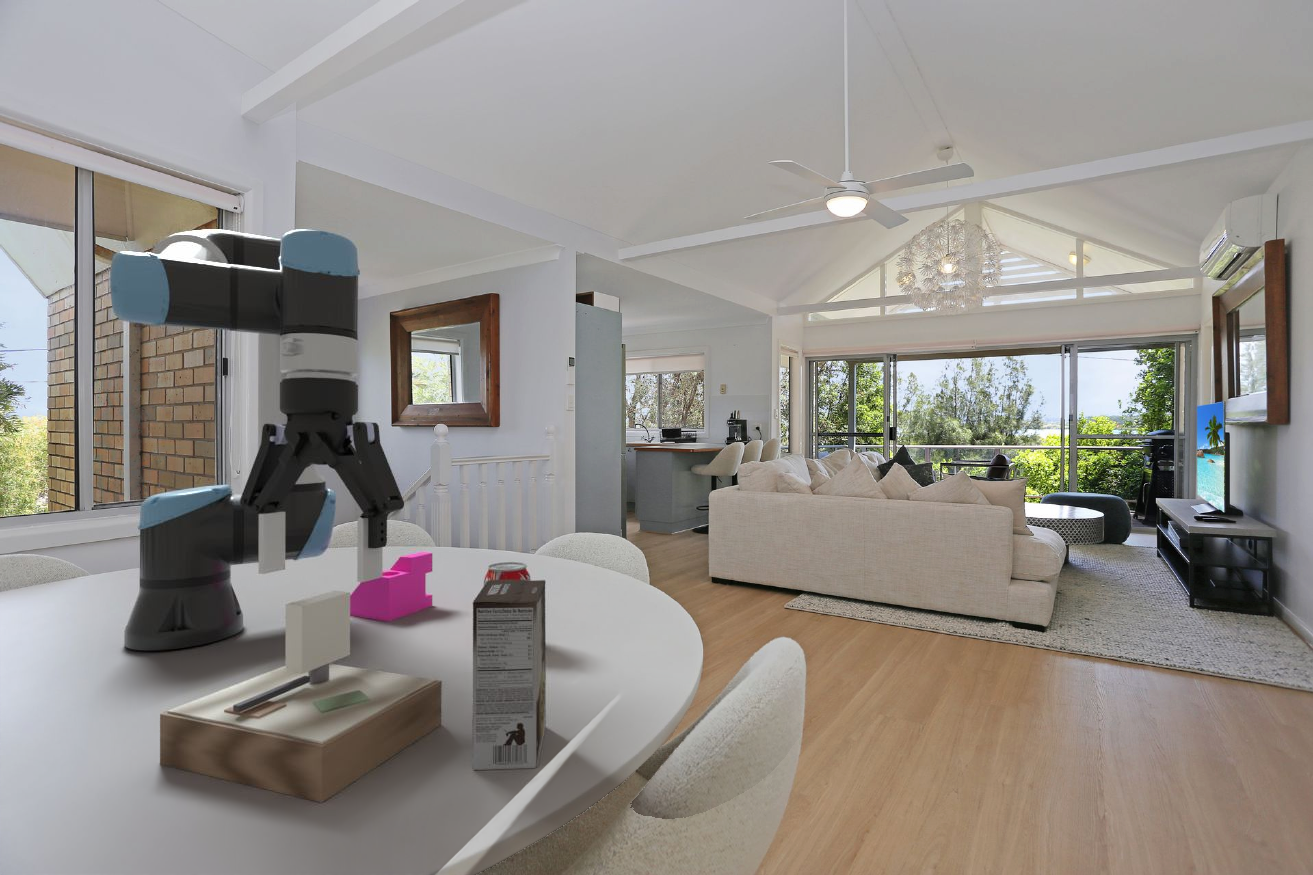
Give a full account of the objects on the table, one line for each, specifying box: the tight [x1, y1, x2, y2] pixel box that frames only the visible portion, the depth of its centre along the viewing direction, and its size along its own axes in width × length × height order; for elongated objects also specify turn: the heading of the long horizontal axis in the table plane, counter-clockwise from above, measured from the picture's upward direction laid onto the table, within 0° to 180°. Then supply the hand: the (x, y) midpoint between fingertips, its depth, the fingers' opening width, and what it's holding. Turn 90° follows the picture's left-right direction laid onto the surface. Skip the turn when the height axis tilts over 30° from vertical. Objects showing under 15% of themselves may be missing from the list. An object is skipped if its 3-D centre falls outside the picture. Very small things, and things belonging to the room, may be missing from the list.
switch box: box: [159, 663, 443, 804], centre depth 66 cm, size 20×16×5 cm
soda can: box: [482, 561, 532, 588], centre depth 98 cm, size 7×7×12 cm
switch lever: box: [233, 590, 351, 712], centre depth 66 cm, size 2×13×9 cm, turn 161°
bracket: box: [350, 551, 433, 622], centre depth 116 cm, size 12×10×10 cm
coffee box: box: [472, 579, 547, 771], centre depth 65 cm, size 9×6×16 cm
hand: (319, 575), depth 69 cm, fingers open, 13 cm apart
